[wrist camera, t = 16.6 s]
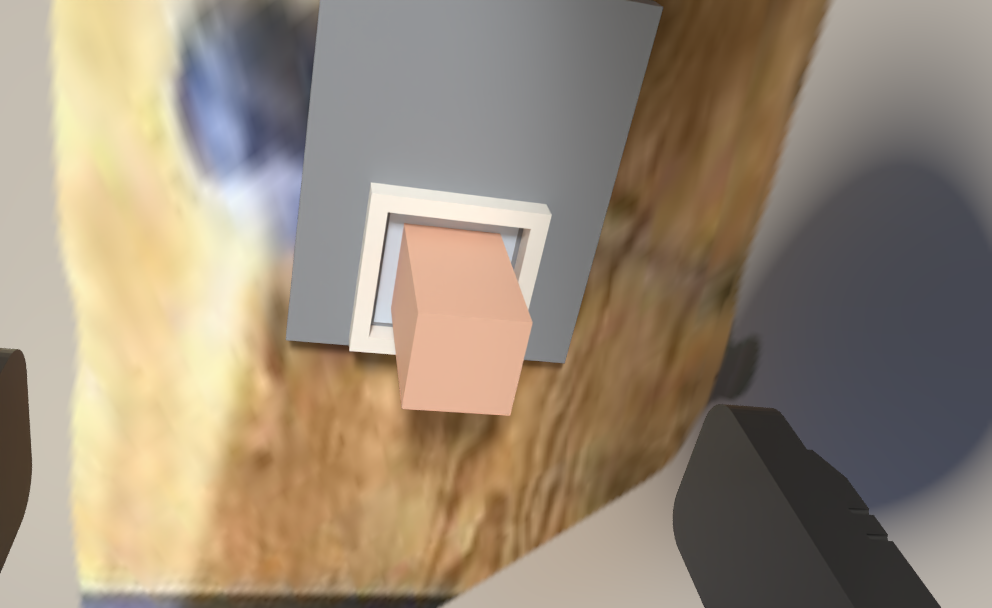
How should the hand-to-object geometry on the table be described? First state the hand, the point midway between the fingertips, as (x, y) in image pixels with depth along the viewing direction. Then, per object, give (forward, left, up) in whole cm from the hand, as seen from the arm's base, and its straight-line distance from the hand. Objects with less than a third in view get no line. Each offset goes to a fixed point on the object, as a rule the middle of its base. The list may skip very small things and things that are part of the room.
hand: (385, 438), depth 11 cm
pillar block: (+12, +6, -29) cm, 32 cm away
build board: (+8, +6, -30) cm, 32 cm away
